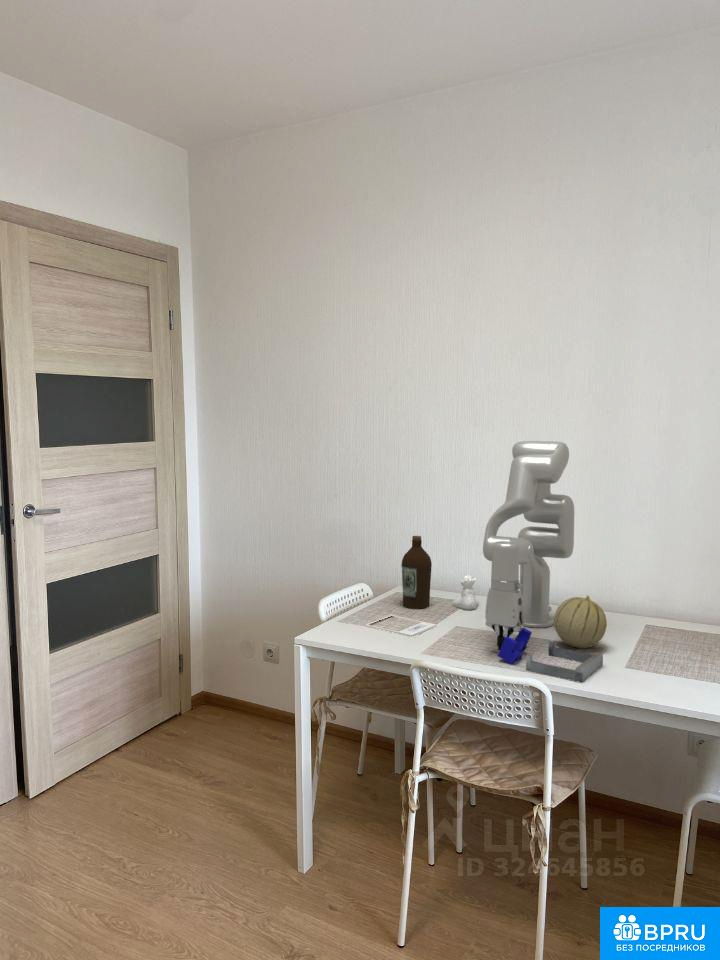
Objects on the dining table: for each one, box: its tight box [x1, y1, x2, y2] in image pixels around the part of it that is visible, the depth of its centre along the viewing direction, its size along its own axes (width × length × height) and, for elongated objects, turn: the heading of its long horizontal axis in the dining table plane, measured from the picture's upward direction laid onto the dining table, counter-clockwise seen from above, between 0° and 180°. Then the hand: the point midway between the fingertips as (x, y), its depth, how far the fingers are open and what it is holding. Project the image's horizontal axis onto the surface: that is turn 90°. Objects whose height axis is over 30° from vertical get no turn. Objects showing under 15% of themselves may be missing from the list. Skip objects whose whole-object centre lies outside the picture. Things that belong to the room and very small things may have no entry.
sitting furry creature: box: [452, 574, 480, 611], centre depth 256 cm, size 10×9×12 cm
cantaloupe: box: [553, 595, 608, 649], centre depth 213 cm, size 15×15×15 cm
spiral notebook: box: [364, 614, 438, 638], centre depth 234 cm, size 15×1×18 cm
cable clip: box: [497, 626, 533, 665], centre depth 203 cm, size 12×4×6 cm, turn 144°
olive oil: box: [400, 535, 433, 610], centre depth 258 cm, size 11×11×25 cm
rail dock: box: [525, 640, 604, 683], centre depth 195 cm, size 16×15×4 cm
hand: (503, 649), depth 206 cm, fingers closed
